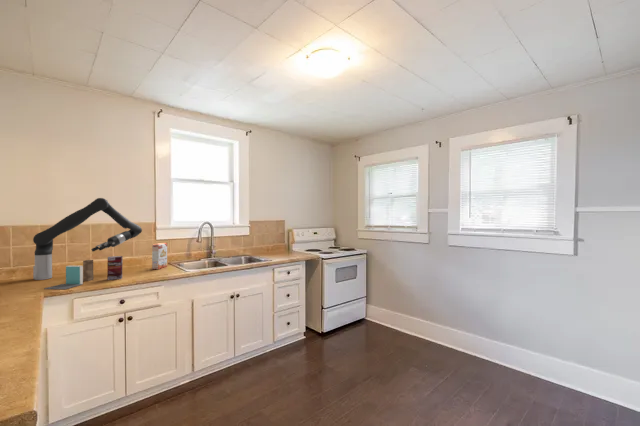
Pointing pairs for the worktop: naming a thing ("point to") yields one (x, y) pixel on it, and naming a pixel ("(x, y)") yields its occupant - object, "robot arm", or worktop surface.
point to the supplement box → (114, 267)
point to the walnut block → (87, 270)
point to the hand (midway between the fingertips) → (95, 249)
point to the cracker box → (159, 255)
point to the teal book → (74, 274)
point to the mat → (63, 286)
